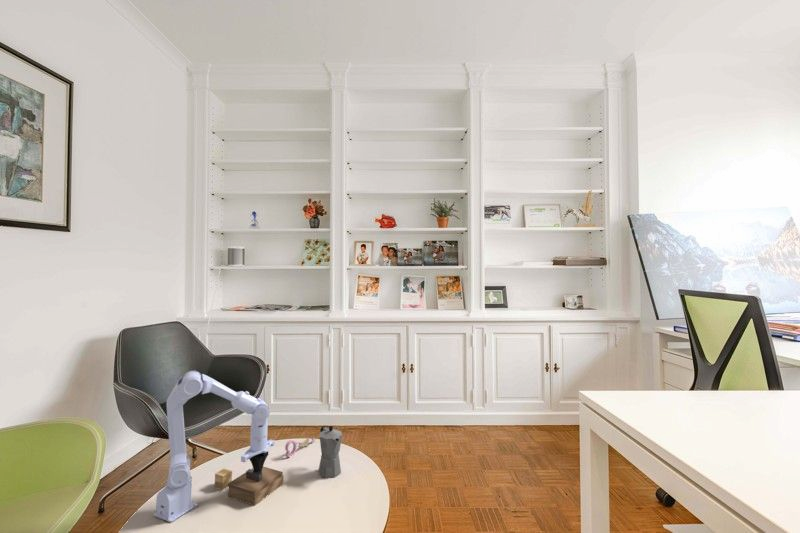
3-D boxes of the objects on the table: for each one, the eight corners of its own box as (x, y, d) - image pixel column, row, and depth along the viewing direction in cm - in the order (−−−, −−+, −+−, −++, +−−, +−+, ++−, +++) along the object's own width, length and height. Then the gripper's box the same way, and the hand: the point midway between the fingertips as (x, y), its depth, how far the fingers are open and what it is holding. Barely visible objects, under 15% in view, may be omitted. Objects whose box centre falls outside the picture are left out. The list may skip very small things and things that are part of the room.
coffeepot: (348, 476, 144) (349, 429, 144) (325, 483, 138) (327, 435, 139) (330, 459, 156) (332, 416, 157) (309, 466, 151) (310, 421, 151)
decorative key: (316, 448, 173) (286, 459, 155) (314, 447, 173) (283, 458, 156) (318, 432, 174) (288, 442, 156) (316, 432, 174) (286, 441, 157)
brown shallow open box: (254, 505, 124) (255, 495, 124) (228, 496, 129) (228, 486, 129) (283, 484, 137) (283, 474, 137) (258, 476, 142) (258, 467, 142)
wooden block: (222, 490, 133) (223, 476, 133) (214, 487, 134) (215, 473, 134) (231, 484, 136) (232, 470, 137) (223, 482, 138) (224, 468, 138)
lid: (254, 494, 124) (254, 484, 124) (227, 486, 129) (228, 476, 129) (282, 474, 137) (282, 465, 137) (257, 467, 141) (257, 458, 142)
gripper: (252, 445, 126) (251, 486, 125) (281, 429, 139) (280, 466, 139) (236, 441, 128) (235, 481, 128) (266, 426, 142) (265, 462, 141)
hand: (257, 473), depth 134 cm, fingers closed
